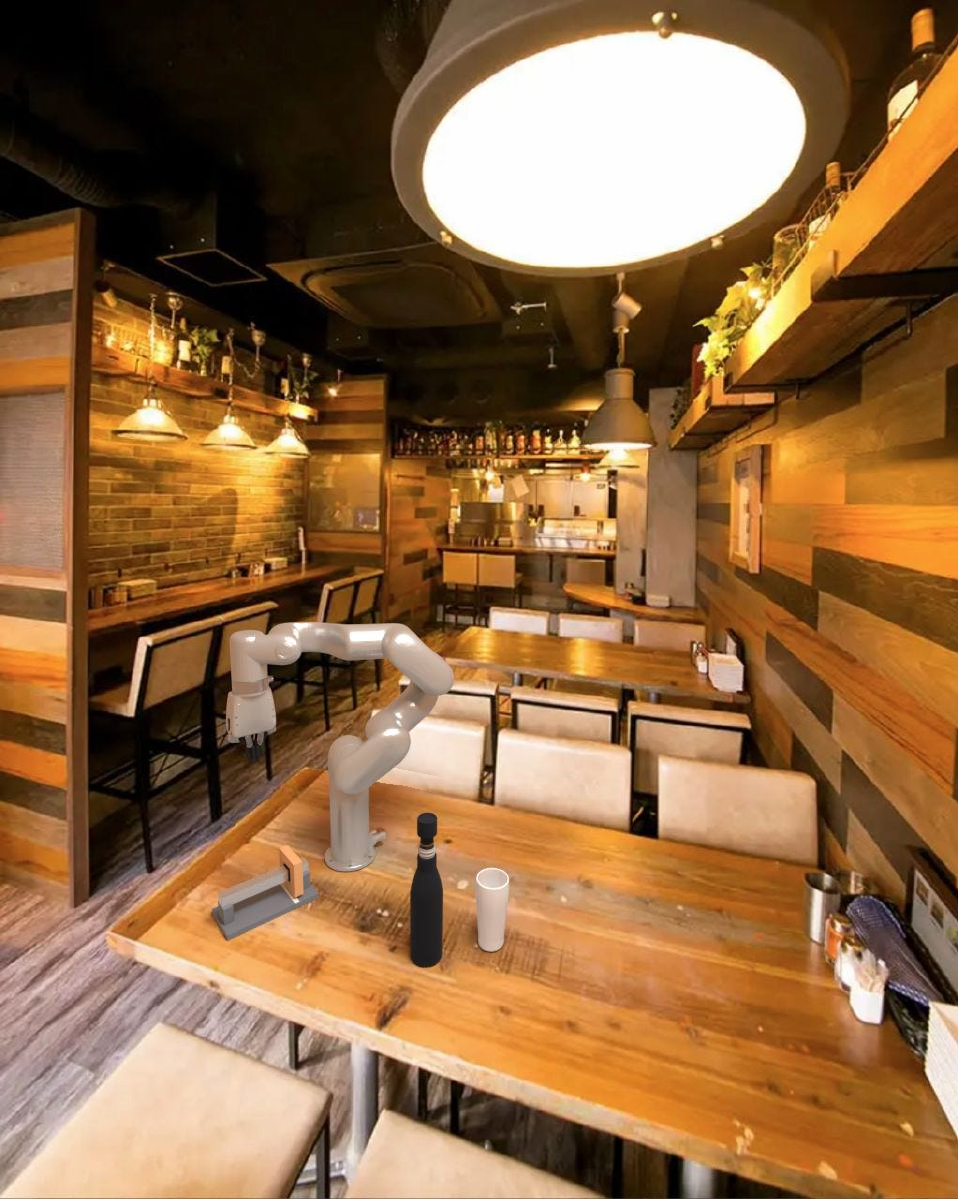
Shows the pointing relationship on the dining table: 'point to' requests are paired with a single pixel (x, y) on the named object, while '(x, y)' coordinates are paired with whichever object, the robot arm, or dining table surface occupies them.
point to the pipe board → (261, 908)
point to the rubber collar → (292, 870)
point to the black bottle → (426, 898)
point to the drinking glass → (491, 907)
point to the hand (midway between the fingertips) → (253, 760)
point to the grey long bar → (257, 885)
